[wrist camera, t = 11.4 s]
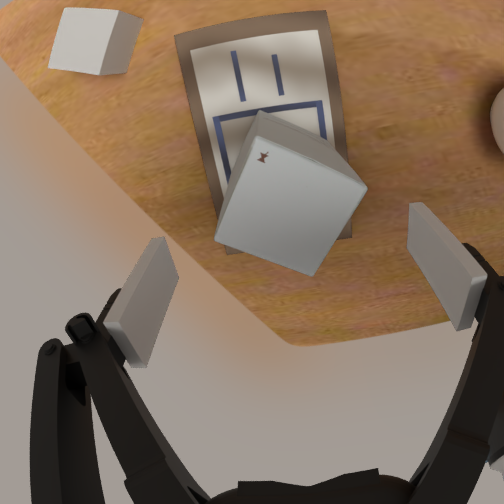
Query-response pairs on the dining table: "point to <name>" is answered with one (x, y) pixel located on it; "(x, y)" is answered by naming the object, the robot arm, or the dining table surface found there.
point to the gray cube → (95, 41)
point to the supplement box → (287, 196)
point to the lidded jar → (498, 119)
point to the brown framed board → (260, 86)
